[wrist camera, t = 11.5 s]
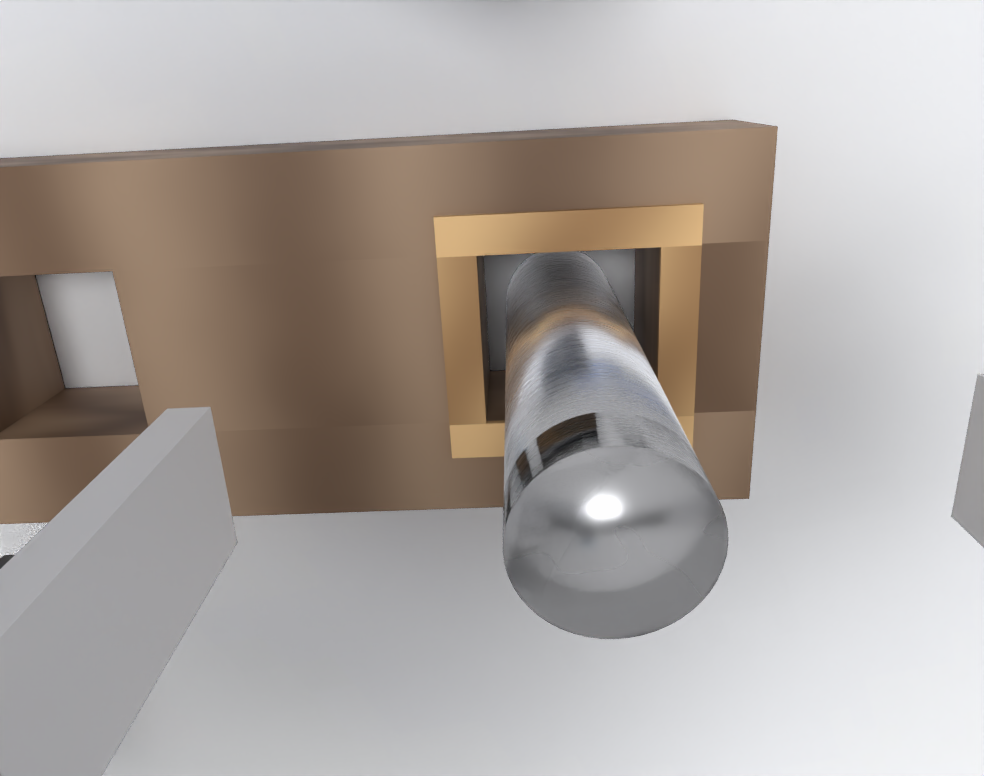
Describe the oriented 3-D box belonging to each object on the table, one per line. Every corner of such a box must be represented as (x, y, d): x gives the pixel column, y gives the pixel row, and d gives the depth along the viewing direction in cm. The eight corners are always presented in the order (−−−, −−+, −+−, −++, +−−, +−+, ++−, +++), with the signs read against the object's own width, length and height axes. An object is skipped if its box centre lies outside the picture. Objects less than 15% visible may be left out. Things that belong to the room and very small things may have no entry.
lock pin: (508, 350, 25) (507, 642, 12) (503, 250, 24) (497, 450, 11) (610, 345, 25) (722, 635, 12) (609, 244, 24) (734, 441, 10)
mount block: (7, 465, 27) (-79, 530, 23) (-86, 162, 23) (-207, 178, 19) (714, 438, 26) (751, 502, 22) (732, 119, 22) (780, 126, 18)
